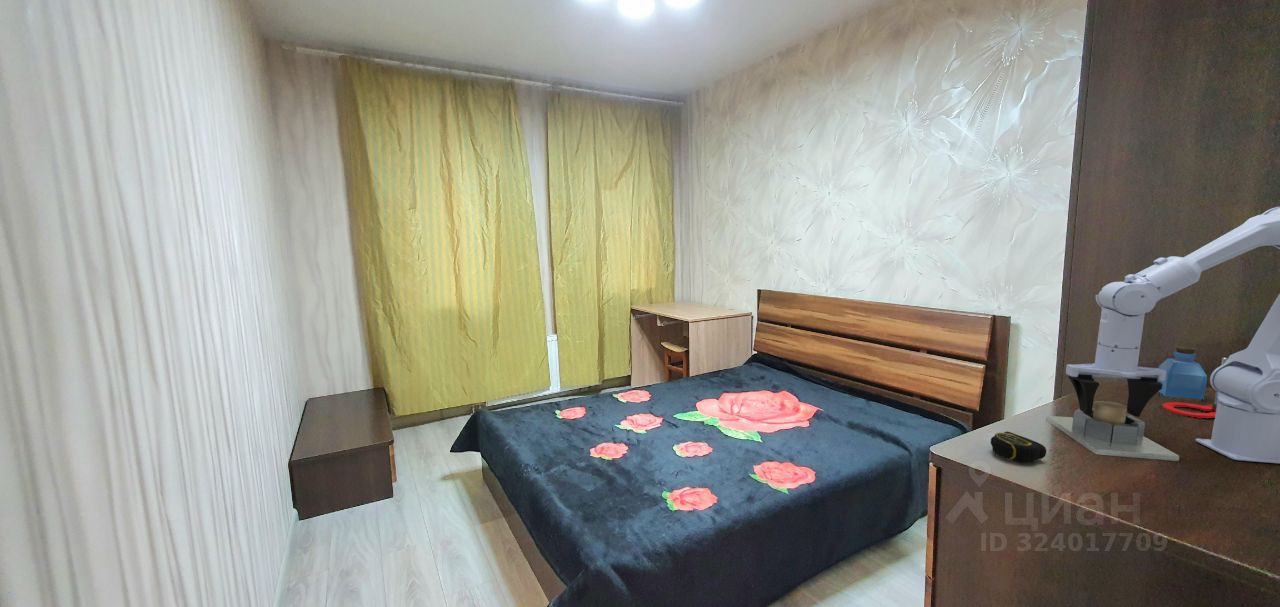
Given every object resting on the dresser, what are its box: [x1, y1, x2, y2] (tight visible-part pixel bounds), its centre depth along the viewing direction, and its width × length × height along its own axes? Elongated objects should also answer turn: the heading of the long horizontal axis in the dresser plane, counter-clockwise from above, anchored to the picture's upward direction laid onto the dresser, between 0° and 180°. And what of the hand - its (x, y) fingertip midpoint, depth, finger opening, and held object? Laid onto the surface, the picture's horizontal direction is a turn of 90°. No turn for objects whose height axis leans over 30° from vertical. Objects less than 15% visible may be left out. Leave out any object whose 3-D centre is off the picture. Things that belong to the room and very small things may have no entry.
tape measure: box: [990, 431, 1047, 464], centre depth 85 cm, size 7×7×4 cm
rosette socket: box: [1045, 407, 1180, 462], centre depth 91 cm, size 12×16×4 cm
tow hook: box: [1162, 357, 1229, 420], centre depth 102 cm, size 8×13×9 cm
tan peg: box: [1093, 400, 1127, 424], centre depth 91 cm, size 4×4×6 cm
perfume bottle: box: [1157, 345, 1208, 400], centre depth 112 cm, size 6×6×12 cm
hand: (1108, 413), depth 91 cm, fingers open, 7 cm apart
